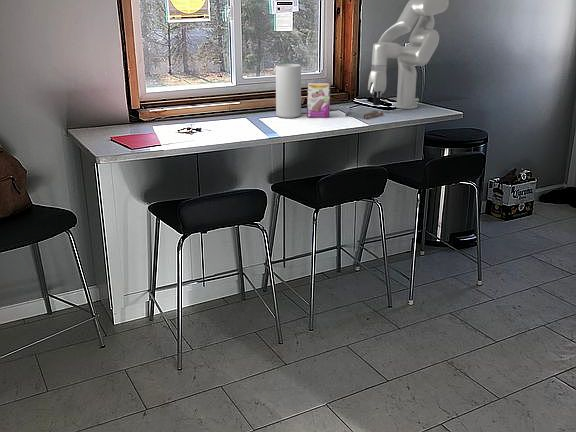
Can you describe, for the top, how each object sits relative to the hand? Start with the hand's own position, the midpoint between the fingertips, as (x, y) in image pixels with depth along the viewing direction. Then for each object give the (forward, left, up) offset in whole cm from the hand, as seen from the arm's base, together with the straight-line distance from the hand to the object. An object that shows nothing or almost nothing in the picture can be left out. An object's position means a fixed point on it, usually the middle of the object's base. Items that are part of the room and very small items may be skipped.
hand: (376, 105), depth 324 cm
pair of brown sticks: (+10, 0, -4) cm, 11 cm away
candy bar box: (+28, -15, -4) cm, 32 cm away
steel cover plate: (+11, 0, -5) cm, 12 cm away
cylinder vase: (+36, -28, -4) cm, 46 cm away
